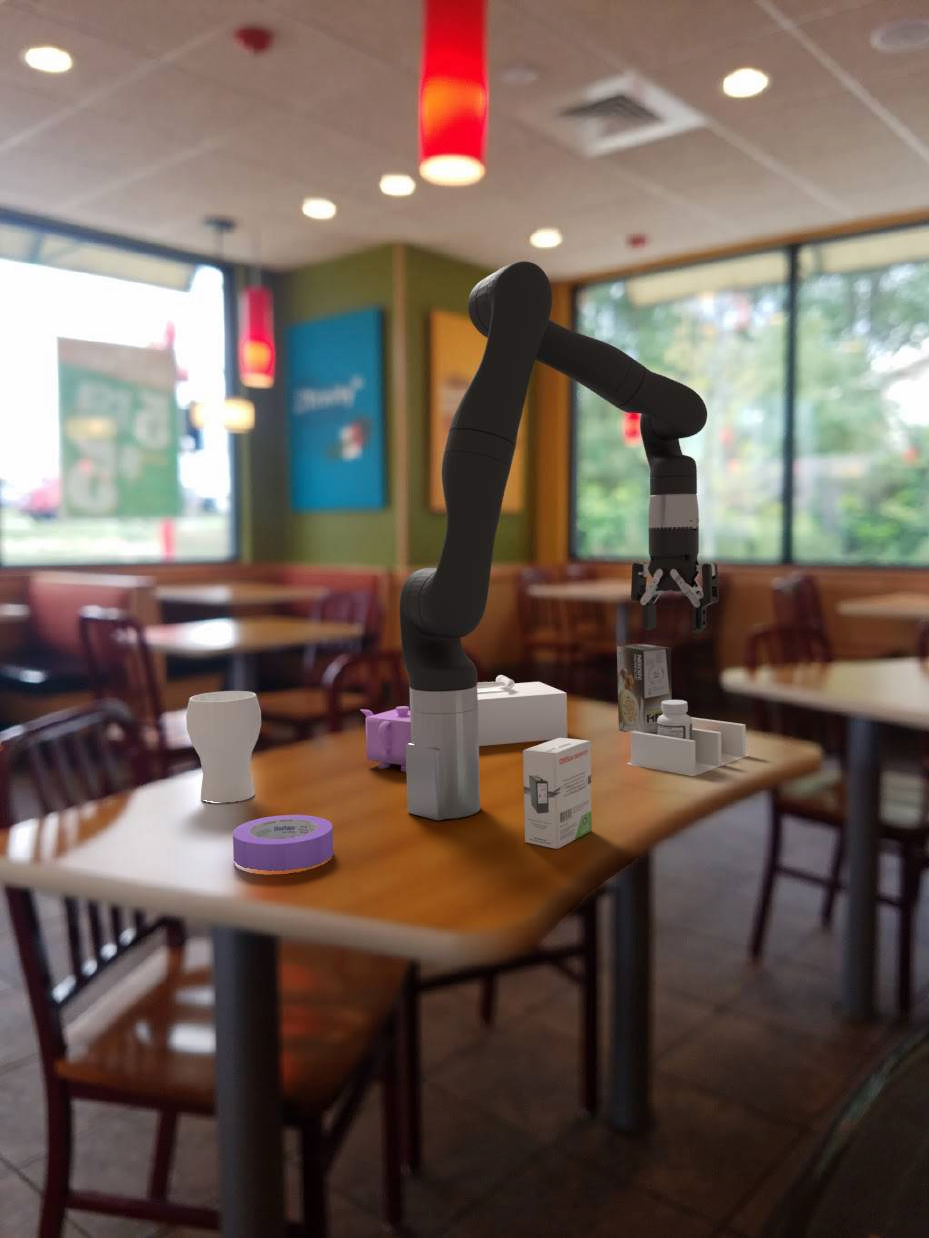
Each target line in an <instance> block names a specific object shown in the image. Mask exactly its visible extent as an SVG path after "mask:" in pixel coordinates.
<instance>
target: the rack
mask: <svg viewBox="0 0 929 1238" xmlns="http://www.w3.org/2000/svg"><path fill="white" fill-rule="evenodd" d="M690 717H691V718H692V740H688V739H682V738H675V737H669V736H662V735H657V733H656V734H654V733H650V732H649V733H644V732H641V731H637V730H632V731H629V732H630V735H629V737H630V762H627V763H626V765H630V766H635V767H640V768H641V767H642V768H646V769H647V768H648V769H652V770H655V771H656V770H657V771H662V772H663V771H664V772H669V773H673V774H678V775H684V776H690V777H695V776H697V775H700V774H703V773H705V772H709V771H711V770H715V769H717V768H718V767H723V766H725V765H727V764H730V763H733V762H736V761H738V760H741V759H743V758H747V757H749V756H750V754H746V753H747V751H746V749H747V748H746V745H747V744H746V737H747V736H746V732H747V731H746V727H747V725H746V724H745V723H744V724H743V723H737V722H731V721H730V722H729V721H722V720H715V719H709V718H708V719H707V718H699V717H693V716H690ZM693 727H706V728H713V729H717V730H718V731H719V732H716V731H709V730H702V729H695V728H693Z"/></svg>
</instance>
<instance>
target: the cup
mask: <svg viewBox="0 0 929 1238" xmlns="http://www.w3.org/2000/svg"><path fill="white" fill-rule="evenodd" d="M259 703H260V702H259V700H258V696H257V694H256V693H255V692H253V691H246V690H245V691H244V690H243V691H242V690H224V691H222V690H221V691H212V692H204V693H200V694H195V695H193V696H191V697H189V699H188V703H187V709H186V715H185V718H186V719H185V720H186V721H185V723H186V731H187V734H188V738H189V740H190V742H191V745H192V747H193V748H194V749H195V752H196V754H197V755H198V757H199V759H200V760H199V761H200V764H201V770H202V779H201V780H202V781H201V789H200V800H201V799H202V800H207V801H213V802H231V803H237V802H236V801H238V802H242V801H246V800H249V799H251V798H253V797H254V796H255V786H254V783H253V778H252V773H251V762H252V753H253V751H254V748H255V746H256V744H257V741H258V739H259V735H260V732H261V726H262V710H261V707H260V704H259ZM202 800H201V801H202Z"/></svg>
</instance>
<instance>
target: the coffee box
mask: <svg viewBox="0 0 929 1238" xmlns="http://www.w3.org/2000/svg"><path fill="white" fill-rule="evenodd" d="M616 651H617V652H616V658H617V659H616V661H617V664H616V665H617V702H618V703H617V710H618V712H617V713H618V715H617V716H618V730H619V731H623V732H626V733H628V732H632V731H636V732H643V733H649V734H650V733H654V732H655V733H657V720H658V717H659V716H661V715H663V712H662V709H661V703H662V701H665V700H673V699H672V647H668V646H659V645H655V644H647V643H633V644H625V645H617V646H616Z"/></svg>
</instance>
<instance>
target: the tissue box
mask: <svg viewBox="0 0 929 1238" xmlns="http://www.w3.org/2000/svg"><path fill="white" fill-rule="evenodd" d="M477 695H478V736H479V747H482V746H483V747H484V746H485V747H486V746H493V745H495V746H497V745H505V744H515V743H516V744H519V743H530V742H539V741H542V742H543V741H551V740H554V739H557V738H568V704H567V703H568V702H567V700H568V697H567V695H568V694H567V692H565V691H563V690H561V689H558V688H555V687H553V686H551V685H548V684H546V683H543V682H541V681H531V682H530V681H529V682H519V683H518V682H517V683H515V681H514V680H513V679H511V678H509V677H508V676H505V675H503V674H499V675H497V676H496V678H495V681H489V682H488V681H482V682H477Z"/></svg>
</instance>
